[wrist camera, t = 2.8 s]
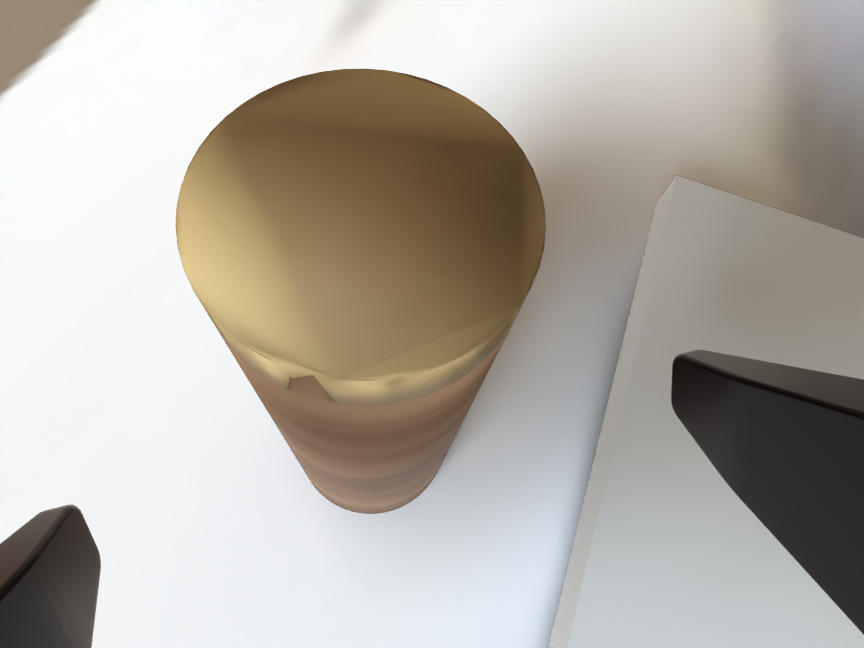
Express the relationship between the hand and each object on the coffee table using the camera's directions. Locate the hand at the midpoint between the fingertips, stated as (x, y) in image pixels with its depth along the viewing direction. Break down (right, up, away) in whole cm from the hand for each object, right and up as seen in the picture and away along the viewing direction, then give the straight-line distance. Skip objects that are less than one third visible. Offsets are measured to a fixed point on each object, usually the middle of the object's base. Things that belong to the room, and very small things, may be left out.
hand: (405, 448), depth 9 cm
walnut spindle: (-1, -2, +10) cm, 10 cm away
